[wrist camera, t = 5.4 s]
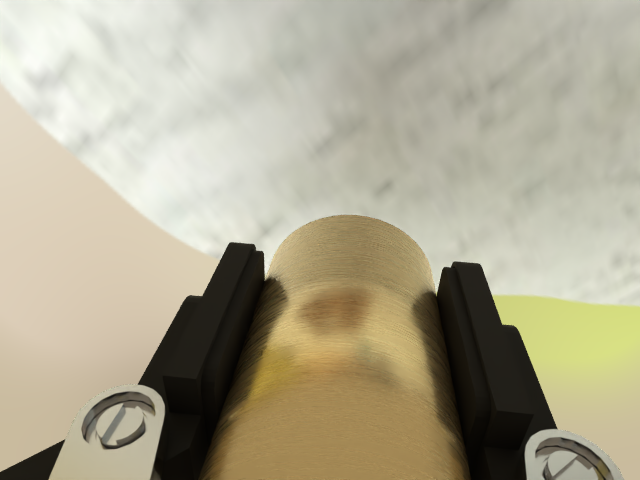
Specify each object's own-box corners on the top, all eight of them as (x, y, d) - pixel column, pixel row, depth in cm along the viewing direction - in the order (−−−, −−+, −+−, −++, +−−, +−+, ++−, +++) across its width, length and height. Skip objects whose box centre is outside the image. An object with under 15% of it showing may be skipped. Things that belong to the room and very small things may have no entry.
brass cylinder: (447, 222, 10) (552, 594, 4) (419, 354, 12) (463, 729, 6) (267, 208, 10) (126, 540, 4) (269, 339, 12) (175, 687, 7)
